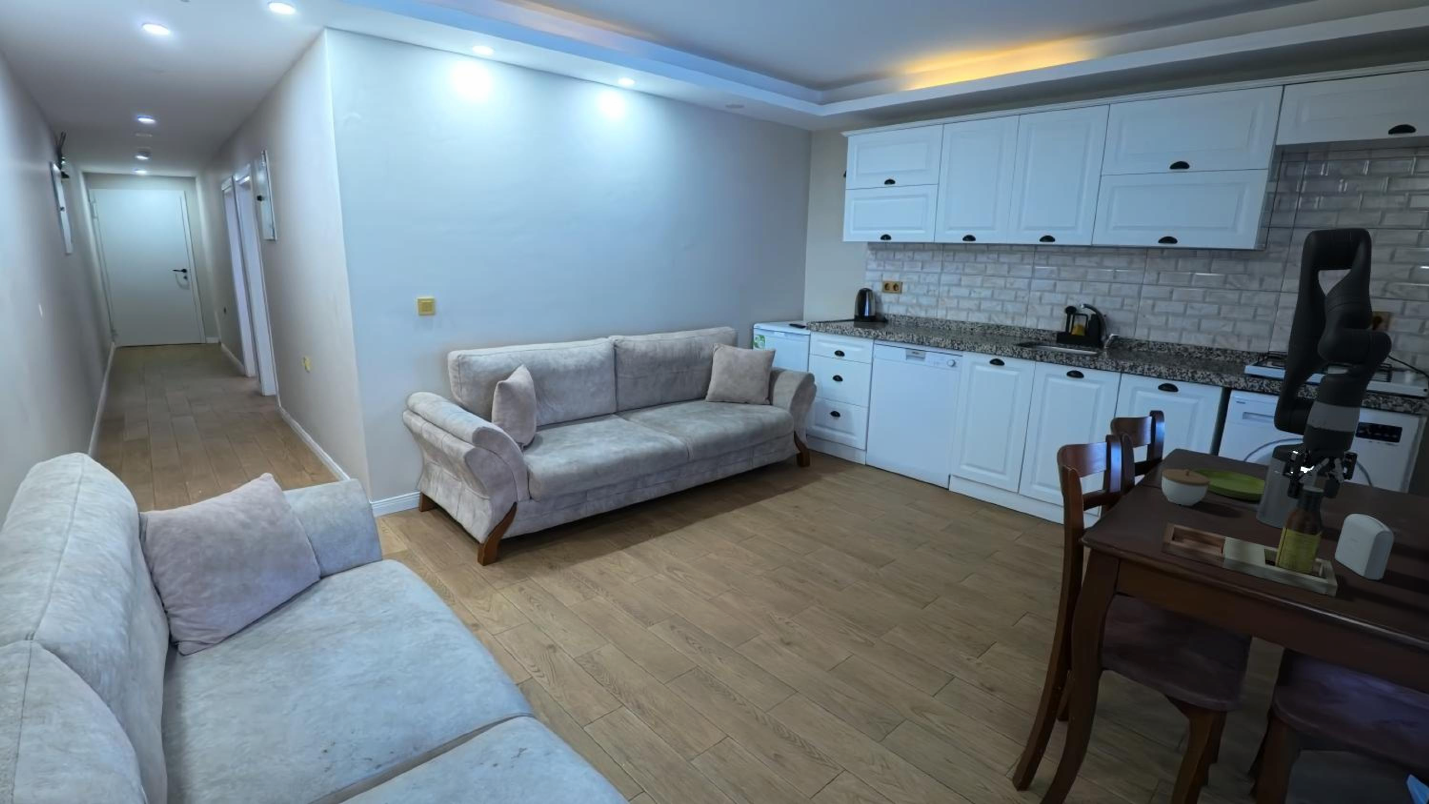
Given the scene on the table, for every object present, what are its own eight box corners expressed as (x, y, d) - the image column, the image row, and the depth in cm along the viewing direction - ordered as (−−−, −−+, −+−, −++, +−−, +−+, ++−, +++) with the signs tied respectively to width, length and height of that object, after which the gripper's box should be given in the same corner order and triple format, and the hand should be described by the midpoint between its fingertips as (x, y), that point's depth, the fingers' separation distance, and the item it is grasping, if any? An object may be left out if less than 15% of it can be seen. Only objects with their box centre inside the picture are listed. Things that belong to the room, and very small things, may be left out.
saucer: (1295, 505, 184) (1298, 495, 183) (1221, 502, 184) (1224, 492, 183) (1239, 479, 204) (1241, 469, 203) (1172, 476, 204) (1175, 466, 203)
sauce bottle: (1317, 582, 140) (1342, 496, 135) (1284, 579, 141) (1307, 493, 136) (1297, 568, 146) (1320, 485, 141) (1265, 564, 147) (1287, 482, 142)
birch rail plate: (1327, 571, 145) (1330, 561, 144) (1334, 596, 134) (1337, 586, 134) (1165, 531, 163) (1167, 522, 162) (1160, 551, 152) (1163, 541, 151)
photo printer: (1329, 557, 152) (1344, 508, 149) (1351, 559, 151) (1366, 510, 148) (1362, 579, 142) (1378, 526, 139) (1385, 581, 141) (1402, 529, 138)
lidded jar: (1188, 511, 176) (1195, 478, 174) (1149, 496, 186) (1155, 465, 183) (1212, 506, 180) (1220, 474, 178) (1173, 492, 190) (1179, 461, 188)
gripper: (1342, 420, 140) (1322, 491, 144) (1283, 419, 138) (1264, 491, 142) (1381, 430, 133) (1358, 504, 136) (1319, 429, 131) (1298, 505, 135)
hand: (1310, 497), depth 139 cm, fingers open, 8 cm apart
